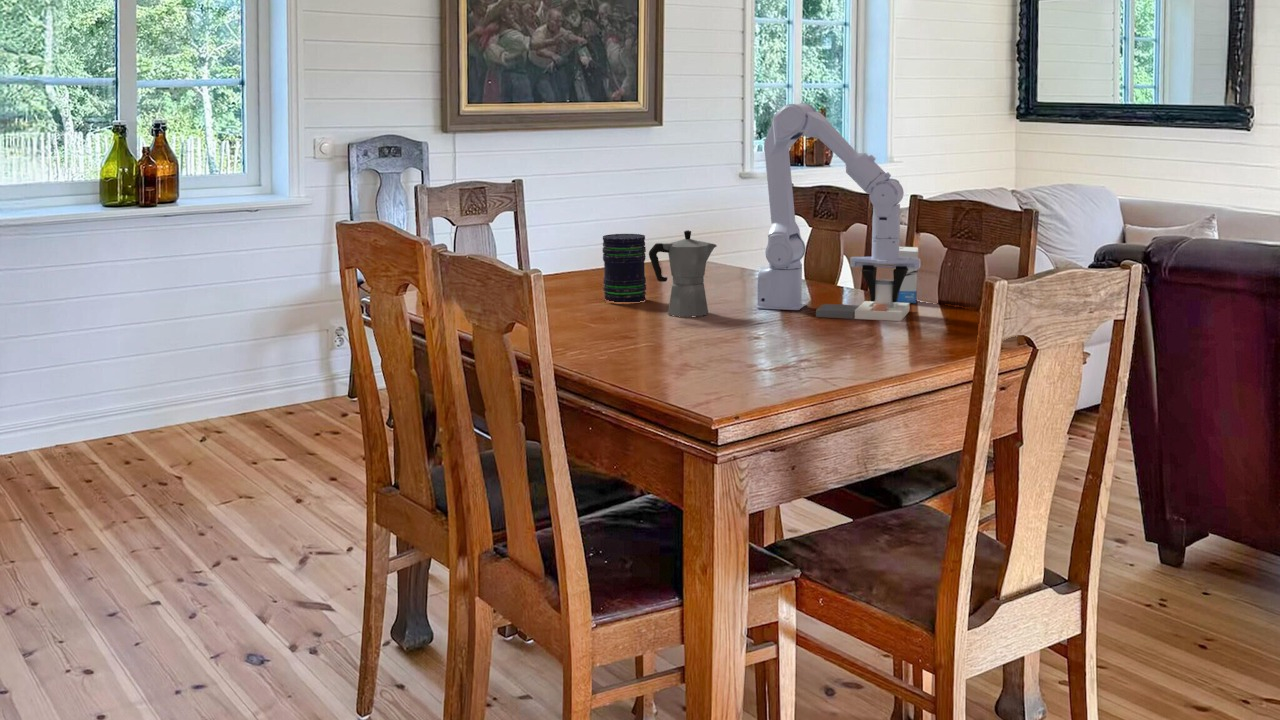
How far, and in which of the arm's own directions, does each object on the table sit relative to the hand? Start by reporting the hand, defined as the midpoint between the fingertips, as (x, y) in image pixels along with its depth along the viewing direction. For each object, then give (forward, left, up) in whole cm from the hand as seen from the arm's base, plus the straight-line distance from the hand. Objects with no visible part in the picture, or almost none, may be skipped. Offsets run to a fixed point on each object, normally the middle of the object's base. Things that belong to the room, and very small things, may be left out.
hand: (884, 301), depth 271 cm
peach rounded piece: (0, -6, -3) cm, 7 cm away
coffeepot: (-41, -12, -3) cm, 43 cm away
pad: (-9, -4, -3) cm, 10 cm away
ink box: (+2, +18, -3) cm, 18 cm away
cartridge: (0, 0, -3) cm, 3 cm away
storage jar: (-59, +1, -3) cm, 59 cm away
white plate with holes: (0, -2, -3) cm, 3 cm away
